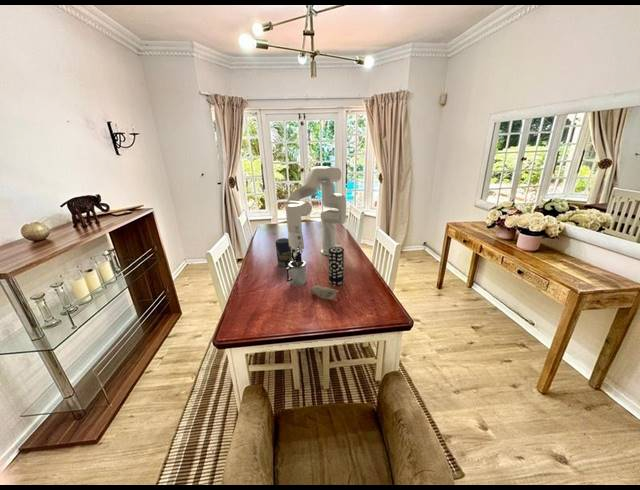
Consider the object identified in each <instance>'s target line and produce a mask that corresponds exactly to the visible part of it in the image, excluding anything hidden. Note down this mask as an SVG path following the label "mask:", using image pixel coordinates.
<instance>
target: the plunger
mask: <svg viewBox="0 0 640 490" xmlns="http://www.w3.org/2000/svg"><path fill="white" fill-rule="evenodd" d="M297 252H299V251H297ZM293 256H294V259H292V261H293V262H295V263H296V266H297V267H298V262H296V251H295V252H293ZM299 262H301V261H299Z"/></svg>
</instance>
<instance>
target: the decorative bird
mask: <svg viewBox="0 0 640 490" xmlns="http://www.w3.org/2000/svg"><path fill="white" fill-rule="evenodd" d="M338 292H340V290H338V289H334V288H331V287H327V286H320V285H313V286H312V288H311V294H312V295H317V296H318V297H320V298H321V299H322V300H330V301H331V300H332V301H334V304H333V305H336V304H337V303H338V302H339V301H340V299H341V297H339V298H338V297H337V293H338ZM334 298H336V299H337V300H334Z"/></svg>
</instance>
